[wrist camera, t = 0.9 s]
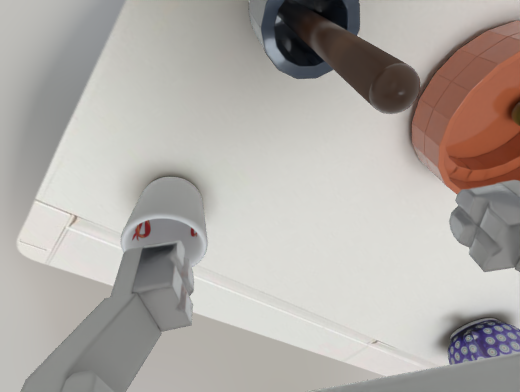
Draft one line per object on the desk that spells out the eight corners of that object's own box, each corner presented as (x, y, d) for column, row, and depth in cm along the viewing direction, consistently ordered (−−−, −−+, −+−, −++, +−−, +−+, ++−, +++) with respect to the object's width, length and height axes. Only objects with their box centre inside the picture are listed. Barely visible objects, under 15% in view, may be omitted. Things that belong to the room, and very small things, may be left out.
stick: (277, -2, 25) (386, 71, 9) (297, -3, 25) (438, 69, 9) (276, 20, 26) (374, 122, 10) (295, 20, 26) (421, 120, 10)
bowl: (438, 19, 28) (484, 32, 23) (600, 18, 30) (674, 30, 25) (391, 173, 38) (416, 204, 33) (515, 165, 39) (556, 194, 35)
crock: (247, -38, 24) (261, -34, 17) (325, -37, 25) (371, -33, 18) (248, 48, 28) (260, 80, 21) (316, 46, 28) (351, 77, 21)
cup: (208, 238, 41) (207, 290, 35) (143, 239, 40) (130, 293, 33) (208, 167, 35) (207, 215, 28) (132, 165, 33) (112, 214, 27)
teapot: (415, 328, 62) (463, 416, 50) (493, 289, 56) (567, 378, 45) (459, 363, 74) (506, 441, 63) (526, 335, 69) (590, 413, 57)
